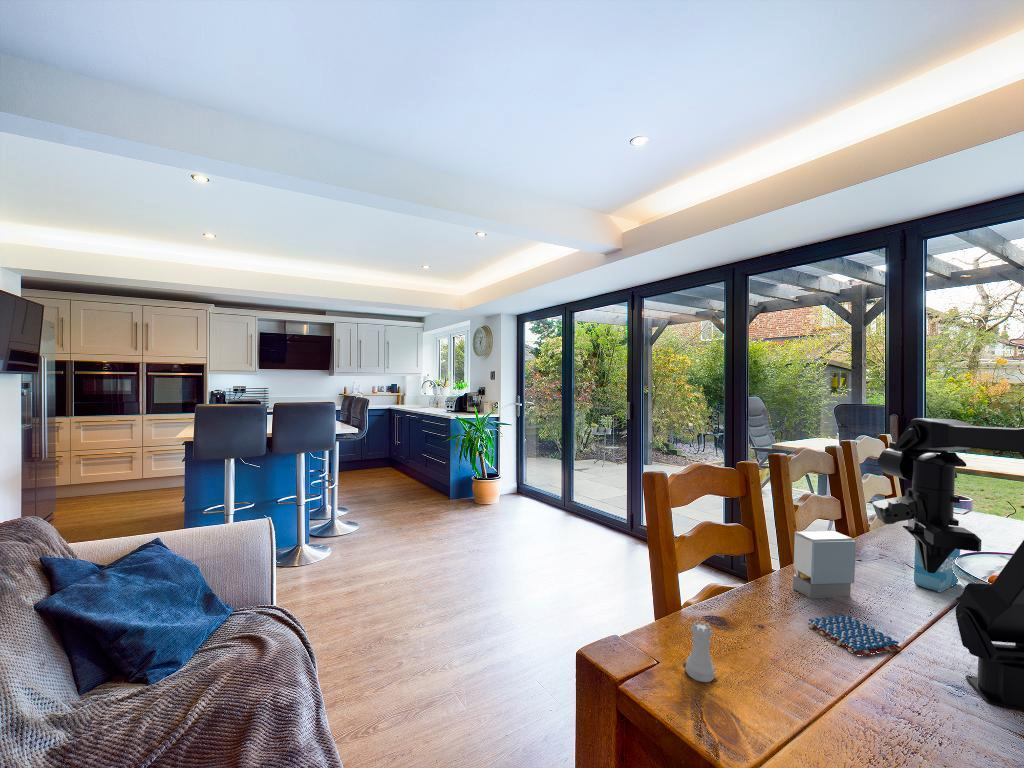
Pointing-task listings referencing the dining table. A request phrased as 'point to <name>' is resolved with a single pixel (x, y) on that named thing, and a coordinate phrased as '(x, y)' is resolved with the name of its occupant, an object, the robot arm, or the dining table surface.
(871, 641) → the woven mat
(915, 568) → the blue carton
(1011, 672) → the robot arm
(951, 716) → the dining table surface
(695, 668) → the rook chess piece
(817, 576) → the box door
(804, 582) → the box
